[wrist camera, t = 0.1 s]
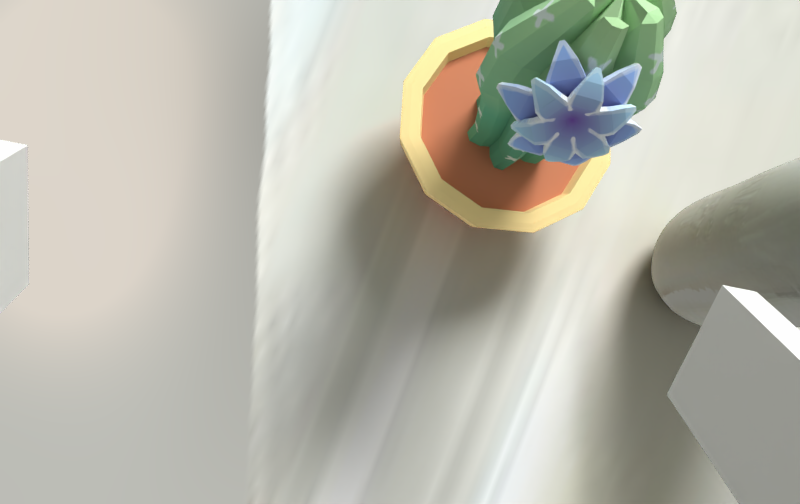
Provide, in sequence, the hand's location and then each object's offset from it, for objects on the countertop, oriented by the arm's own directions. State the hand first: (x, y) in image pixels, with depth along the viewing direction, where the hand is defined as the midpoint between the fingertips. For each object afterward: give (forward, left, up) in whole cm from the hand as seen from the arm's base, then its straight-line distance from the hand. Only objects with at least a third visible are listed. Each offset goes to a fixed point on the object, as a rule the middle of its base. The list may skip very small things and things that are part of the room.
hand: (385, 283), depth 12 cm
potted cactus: (+10, -17, -36) cm, 41 cm away
